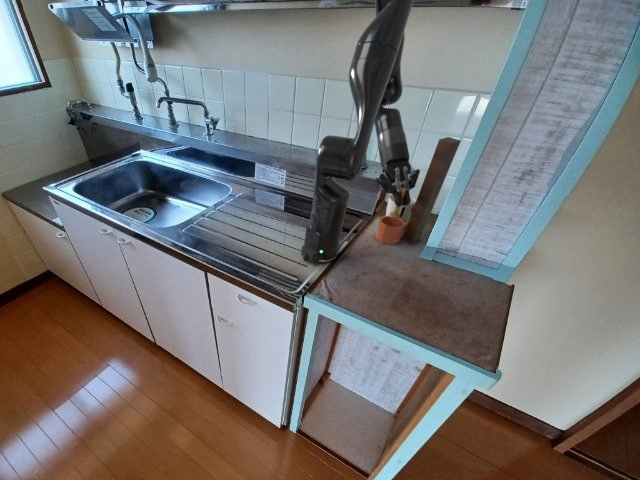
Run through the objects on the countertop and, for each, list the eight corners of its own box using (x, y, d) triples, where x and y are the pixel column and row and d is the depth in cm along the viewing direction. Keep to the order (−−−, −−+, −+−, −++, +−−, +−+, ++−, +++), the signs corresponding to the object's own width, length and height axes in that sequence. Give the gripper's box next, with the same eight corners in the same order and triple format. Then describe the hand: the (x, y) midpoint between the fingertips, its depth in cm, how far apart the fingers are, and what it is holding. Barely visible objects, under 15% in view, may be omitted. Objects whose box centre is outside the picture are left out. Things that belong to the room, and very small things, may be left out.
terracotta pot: (387, 247, 101) (393, 230, 97) (370, 236, 106) (375, 219, 101) (404, 240, 103) (410, 223, 99) (386, 229, 108) (391, 213, 104)
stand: (411, 244, 102) (451, 143, 81) (402, 238, 104) (439, 139, 83) (419, 240, 103) (461, 140, 82) (409, 235, 105) (448, 136, 85)
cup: (392, 234, 106) (401, 206, 99) (375, 223, 111) (384, 195, 104) (411, 229, 108) (422, 201, 101) (394, 218, 113) (403, 191, 107)
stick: (394, 220, 98) (404, 191, 92) (387, 215, 100) (396, 187, 94) (401, 217, 99) (411, 189, 93) (394, 213, 101) (403, 185, 95)
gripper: (378, 143, 90) (390, 204, 90) (422, 138, 92) (433, 198, 92) (364, 156, 97) (375, 212, 97) (405, 151, 99) (415, 206, 99)
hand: (403, 205), depth 94 cm, fingers closed on stick, 1 cm apart
